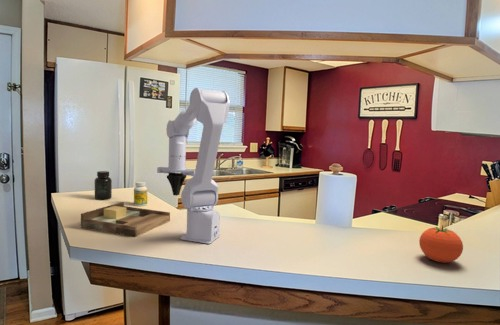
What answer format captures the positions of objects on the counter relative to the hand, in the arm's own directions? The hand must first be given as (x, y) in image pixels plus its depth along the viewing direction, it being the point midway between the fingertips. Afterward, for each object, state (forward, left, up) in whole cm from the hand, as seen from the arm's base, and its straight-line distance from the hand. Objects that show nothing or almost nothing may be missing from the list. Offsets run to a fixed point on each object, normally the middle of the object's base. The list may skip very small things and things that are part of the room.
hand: (176, 194), depth 112 cm
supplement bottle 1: (+46, -16, -10) cm, 50 cm away
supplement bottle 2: (+25, -14, -10) cm, 30 cm away
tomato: (-82, +1, -10) cm, 83 cm away
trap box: (+12, +10, -9) cm, 18 cm away
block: (+17, +10, -7) cm, 21 cm away
